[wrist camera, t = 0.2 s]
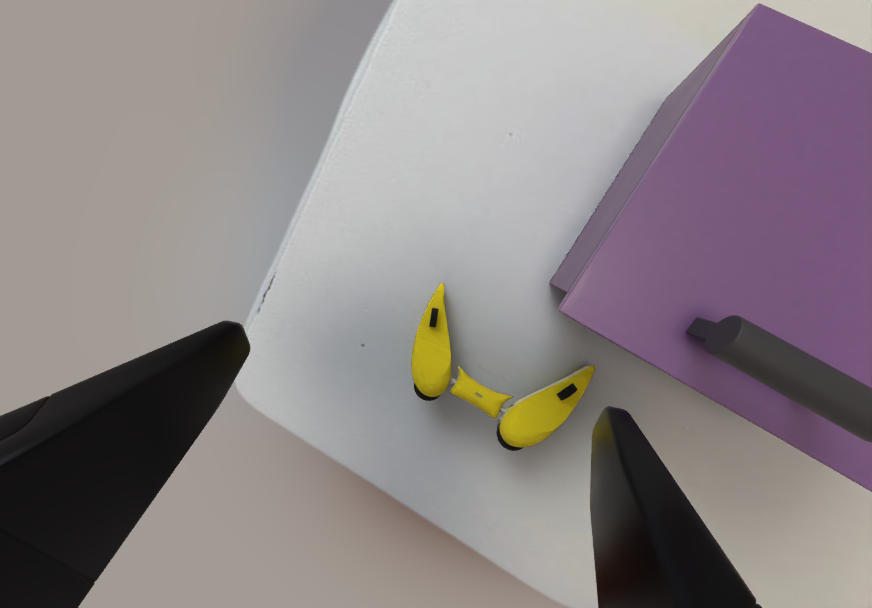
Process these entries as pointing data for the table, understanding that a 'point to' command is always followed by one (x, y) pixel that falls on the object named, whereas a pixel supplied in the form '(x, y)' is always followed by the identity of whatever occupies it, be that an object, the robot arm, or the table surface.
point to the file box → (635, 169)
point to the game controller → (518, 421)
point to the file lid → (757, 244)
